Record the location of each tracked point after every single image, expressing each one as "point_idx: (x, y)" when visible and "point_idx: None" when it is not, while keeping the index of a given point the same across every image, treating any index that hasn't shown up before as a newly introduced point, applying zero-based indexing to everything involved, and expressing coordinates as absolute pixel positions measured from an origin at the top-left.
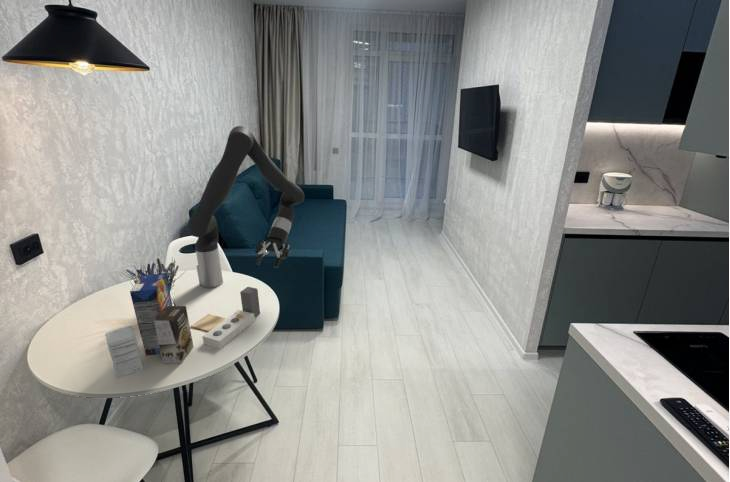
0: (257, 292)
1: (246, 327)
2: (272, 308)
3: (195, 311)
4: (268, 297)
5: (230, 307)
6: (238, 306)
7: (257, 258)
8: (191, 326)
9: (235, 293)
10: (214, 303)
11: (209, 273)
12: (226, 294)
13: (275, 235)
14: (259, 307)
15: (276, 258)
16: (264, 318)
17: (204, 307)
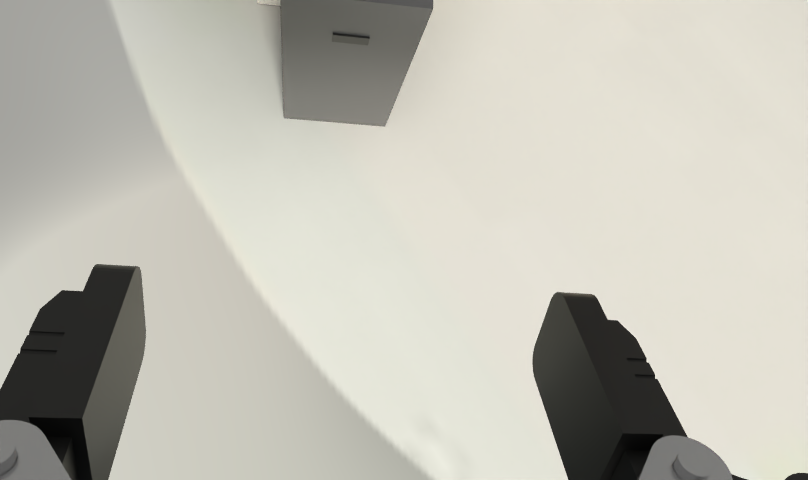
0: (281, 11)
1: None
2: (223, 227)
3: (784, 2)
4: (378, 399)
5: (586, 129)
6: (535, 163)
7: (639, 381)
8: None
9: (713, 353)
10: (747, 144)
11: None
12: (770, 309)
13: None
14: (283, 94)
15: (71, 399)
16: (200, 59)
17: (770, 69)
